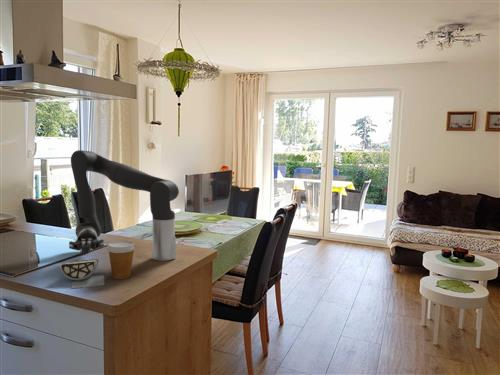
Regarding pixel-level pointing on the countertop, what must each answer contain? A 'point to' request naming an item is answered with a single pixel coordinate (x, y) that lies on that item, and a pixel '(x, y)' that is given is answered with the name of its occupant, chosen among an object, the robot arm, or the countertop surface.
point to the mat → (89, 282)
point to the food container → (79, 269)
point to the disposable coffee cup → (121, 258)
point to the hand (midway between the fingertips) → (85, 249)
